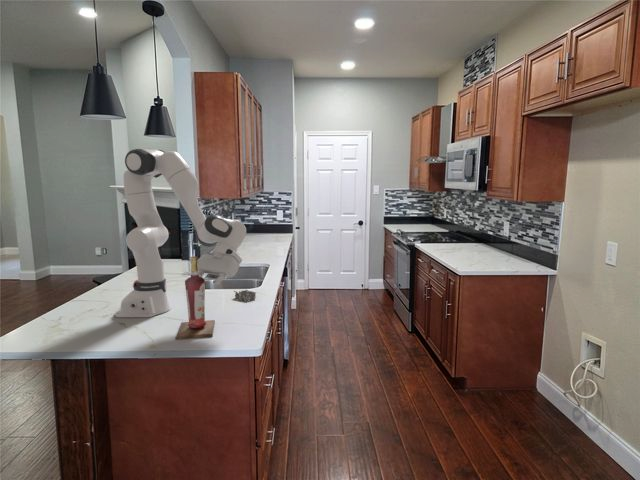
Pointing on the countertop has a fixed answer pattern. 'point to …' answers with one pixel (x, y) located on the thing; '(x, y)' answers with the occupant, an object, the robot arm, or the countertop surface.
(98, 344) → the countertop surface
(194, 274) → the liquor
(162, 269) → the robot arm
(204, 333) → the serving board
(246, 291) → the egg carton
